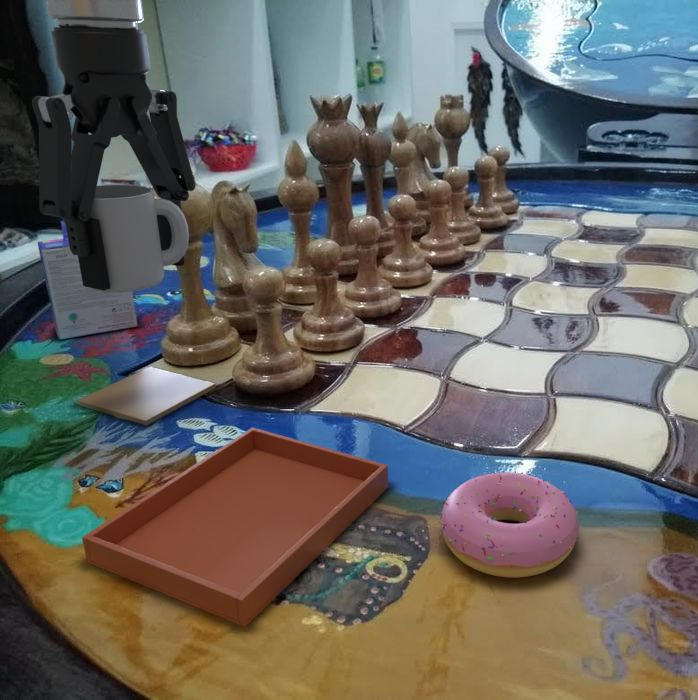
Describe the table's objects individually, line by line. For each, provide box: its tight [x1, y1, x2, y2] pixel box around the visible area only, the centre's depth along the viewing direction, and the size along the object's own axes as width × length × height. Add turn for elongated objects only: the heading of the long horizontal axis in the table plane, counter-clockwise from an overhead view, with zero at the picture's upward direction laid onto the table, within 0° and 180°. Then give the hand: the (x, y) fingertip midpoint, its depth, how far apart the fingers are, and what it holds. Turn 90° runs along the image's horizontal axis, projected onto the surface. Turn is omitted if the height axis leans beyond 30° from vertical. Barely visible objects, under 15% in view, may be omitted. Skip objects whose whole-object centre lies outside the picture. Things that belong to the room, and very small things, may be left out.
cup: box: [90, 184, 190, 293], centre depth 71 cm, size 7×10×9 cm
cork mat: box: [76, 366, 217, 427], centre depth 80 cm, size 10×10×1 cm
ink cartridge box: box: [37, 220, 139, 340], centre depth 96 cm, size 10×6×14 cm, turn 124°
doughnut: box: [438, 470, 580, 578], centre depth 58 cm, size 11×11×4 cm
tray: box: [81, 427, 389, 628], centre depth 60 cm, size 15×19×2 cm
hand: (136, 274), depth 73 cm, fingers closed on cup, 9 cm apart
